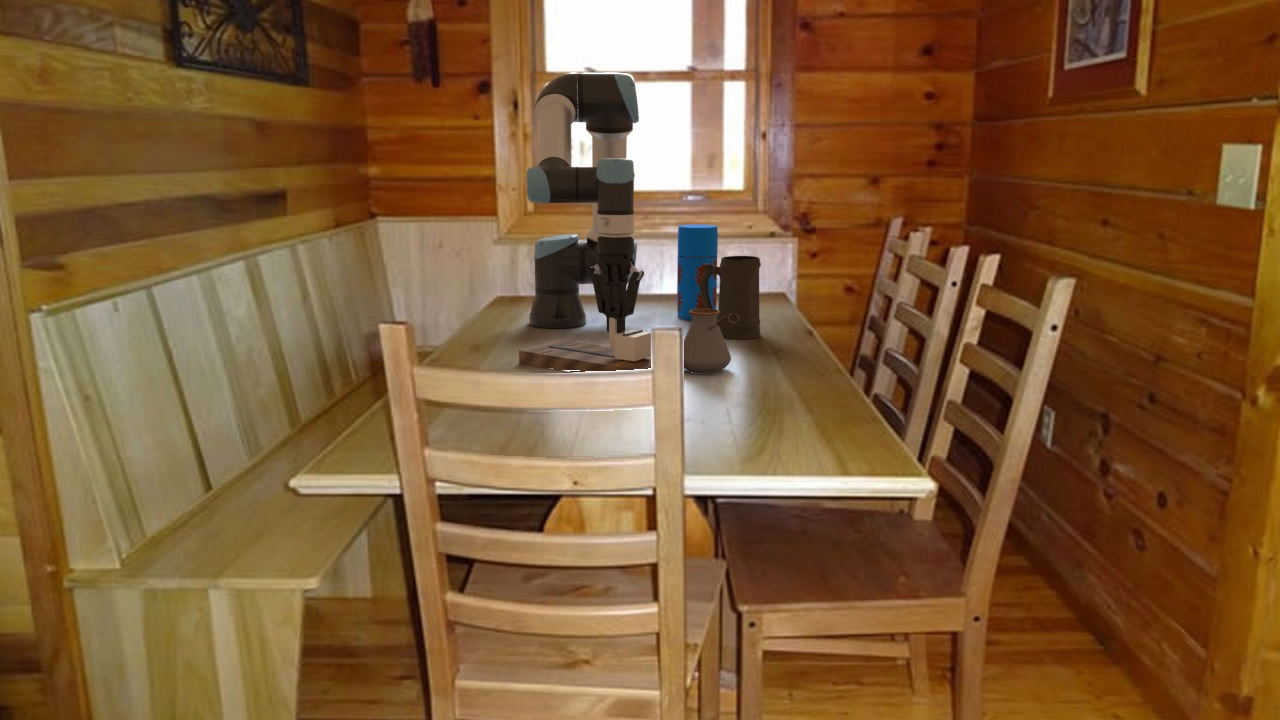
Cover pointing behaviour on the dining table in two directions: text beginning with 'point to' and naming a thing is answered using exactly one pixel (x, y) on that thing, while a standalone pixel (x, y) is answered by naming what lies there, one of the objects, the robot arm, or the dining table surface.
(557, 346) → the fader panel
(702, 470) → the dining table surface
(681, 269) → the thermos
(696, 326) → the coffee pot
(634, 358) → the fader knob
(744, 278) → the beer stein
